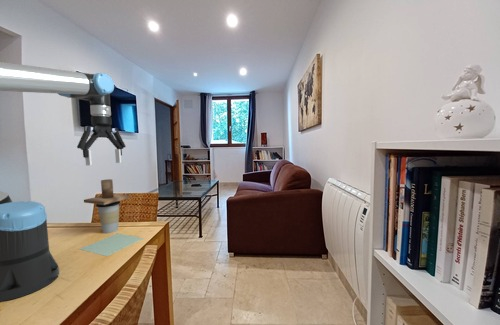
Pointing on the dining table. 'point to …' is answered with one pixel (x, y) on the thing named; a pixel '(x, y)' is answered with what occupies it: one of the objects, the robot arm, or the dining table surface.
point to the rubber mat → (111, 244)
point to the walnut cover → (107, 194)
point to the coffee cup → (109, 216)
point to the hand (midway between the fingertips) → (104, 164)
